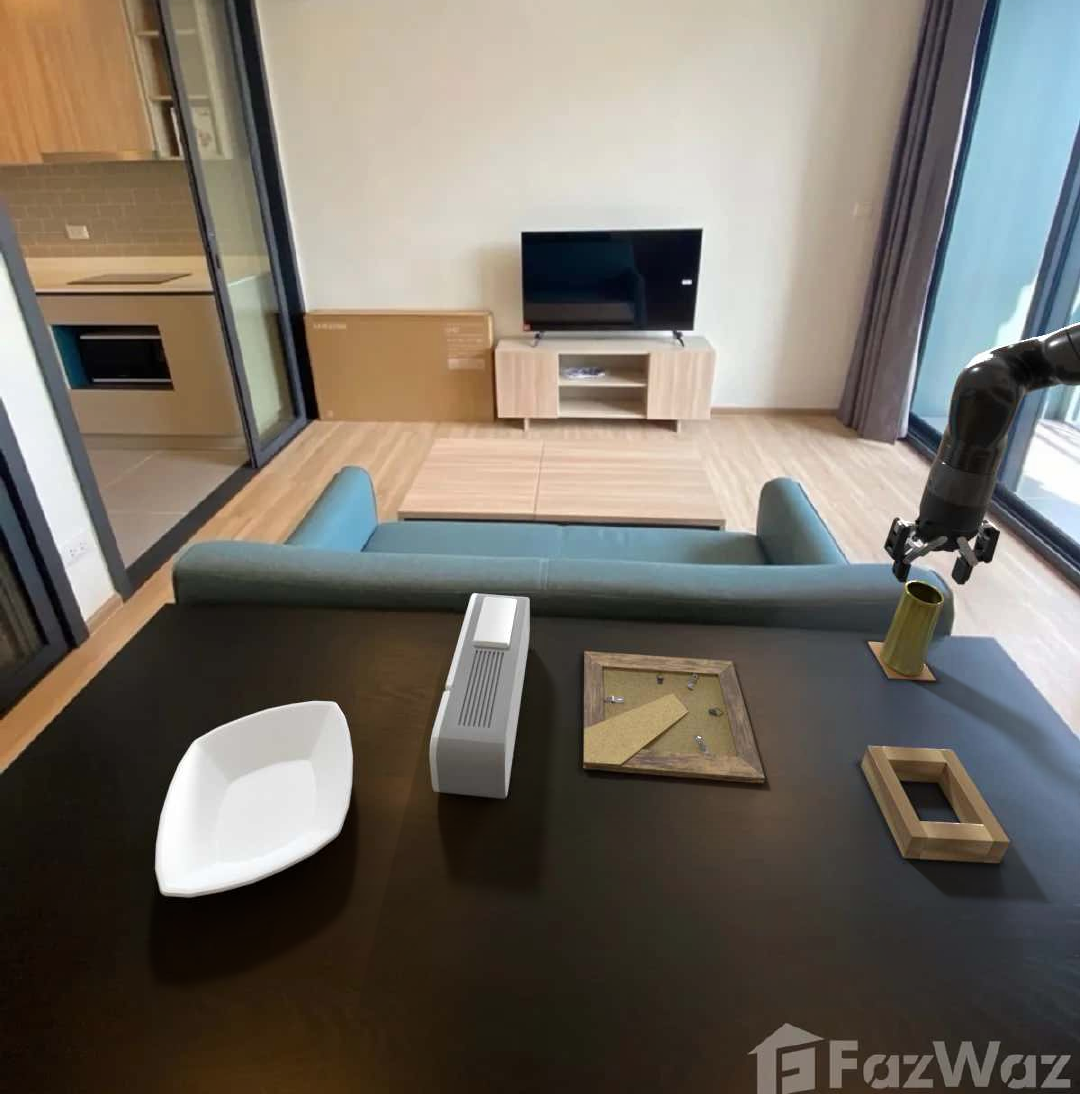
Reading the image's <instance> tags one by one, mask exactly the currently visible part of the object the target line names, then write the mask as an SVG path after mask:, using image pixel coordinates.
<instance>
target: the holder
mask: <svg viewBox="0 0 1080 1094" xmlns="http://www.w3.org/2000/svg"><path fill="white" fill-rule="evenodd" d="M861 761H862V762H861V763H860V767H861V769H862V772H863V774H864V776H865V778H866V780H867V782H868V784H869V786H870V789H871V791H872V793H873V795H874V798H875V800H876V802H877V804H878V806H879V808H880V810H881V812H882V815H883V817H884V819H885V822H886V823H887V825H888V828H889V829H890V832H891V834H892V836H893V838H894V840H895V842H896V844H897V847H898V849H899V851H900V854H901V856H902V857H903V858H904V859H918V860H937V861H953V862H970V863H971V862H972V863H989V864H1000V862H1001V861H1002V859H1003V857H1004V855H1005V853H1006V851H1007V849H1008V848H1009V846H1010V844H1011V840H1010V839H1009V838H1008V836H1007V834H1006V833H1005V831H1004V830H1003V828H1002V826H1001V824H1000V823H999V822H998V820H997V819H996V817H995V815H994V814H993V812H992V810H991V808H990V807H989V806H988V804H987V803H986V801H985V799H984V798H983V796H982V795H981V793H980V791H979V790H978V788H977V787H976V784H975V783H974V782H973V780H972V779H971V777H970V776H969V774H968V773H967V771H966V768H964V766H963V764H962V763H961V761H960V760H959V758H958V756H957V755H956V753H955V752H954V750H953V749H942V748H940V749H939V748H938V749H937V748H925V747H924V748H921V747H900V746H885V745H883V746H879V745H867V747H866V750H865V752H864V755H863V758H862V760H861ZM900 781H902V782H918V783H937V784H938V786H939V787H940V789H941V790H942V793H943V794H944V796H945V798H946V799H947V801H948V803H949V805H950V806H951V808H952V810H953V811H954V813H955V815H956V816H957V818H958V820H959V822H960V823H959V822H943V821H941V822H940V821H923V820H920V819H919V818H918V816H917V814H916V812H915V809H914V807H913V805H912V804H911V802H910V800H909V798H908V796H907V794H906V792H905V790H904V788H903V786H902V785H901V782H900Z"/></svg>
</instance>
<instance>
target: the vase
mask: <svg viewBox="0 0 1080 1094" xmlns="http://www.w3.org/2000/svg"><path fill="white" fill-rule="evenodd" d="M944 602H945V597H944V595H943V593H942V592H941V590H940V589H938V588H937V587H936V586H933V585H932V584H930V583H928V582H925V581H921V580H909V581H907V582H906V583H904V586H903V589H902V593H901V595H900V598H899V602H898V605H897V607H896V610H895V613H894V615H893V619H892V621H891V624H890V627H889V628H888V631H887V633H886V636H885V638H884V641H883V643H884V644H883V646H882V647H881V650H880V653H881V657H882V659H883V661H884V662H885V663H886V664H887V665H888V666H889V667H890V668H892V669H893V670H895V671H897V672H899V673H901V674H904V675H910V676H914V675H919V674H920V673H921V672H922V671H923V668H924V663H925V662H926V658H927V654H928V652H929V648H930V645H931V642H932V638H933V635H934V632H935V628H936V625H937V623H938V619H939V617H940V616H939V615H940V613H941V611H942V608H943V606H944Z"/></svg>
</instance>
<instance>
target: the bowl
mask: <svg viewBox="0 0 1080 1094" xmlns="http://www.w3.org/2000/svg"><path fill="white" fill-rule="evenodd" d="M351 739H352V738H351V733H350V729H349V726H348V722H347V719H346V716H345V714H344V713H343V711H342V710H341V708H340V707H339V705H338V703H337V702H335V701H326V700H312V701H304V702H297V703H296V702H295V703H290V704H285V705H280V706H276V707H271V708H267V709H264V710H261V711H257V712H255V713H252V714H248V715H245V716H242V717H240V718H238V719H235V720H233V721H229V722H227V723H225V724H222V725H220V726H218V727H215V728H214V729H211V730H210V731H209V732H206V733H205V734H204V735H201V736H200V737H198V738H196V739H195V740H193V742H192V743H191V744H190V746H189V747H188V749H187V751H186V752H185V753H184V755H183V757H182V759H181V760H180V761H179V763H178V765H177V768H176V770H175V772H174V775H173V777H172V779H171V782H170V784H169V787H168V790H167V793H166V797H165V799H164V802H163V806H162V809H161V813H160V817H159V821H158V822H159V823H158V830H157V836H156V841H155V857H154V860H155V861H154V870H155V871H154V872H155V876H156V881H157V883H158V884H157V885H158V887H159V888H158V889H159V892H160V894H162V896H164V897H174V898H175V897H178V898H196V897H200V896H206V895H211V894H216V893H223V892H225V891H231V890H233V889H237V888H241V887H243V886H248V885H251V884H255V883H256V882H260V881H261V880H263V879H266V878H268V877H270V876H273V875H275V874H277V873H280V872H283V871H285V870H287V869H288V868H290V867H293V866H294V865H296V864H298V863H300V862H302V861H304V860H306V859H308V858H309V857H312V856H314V855H316V853H318V852H319V851H320V850H321V849H323V848H324V847H325V846H327V845H328V844H329V843H331V842H332V841H334V840H335V839H336V838H337V837H338V836H339V835H340V833H341V831H342V830H343V829H342V828H343V826H344V822H345V820H346V817H347V814H348V812H349V809H350V804H351V803H350V802H351V795H352V788H353V773H354V772H353V771H354V753H353V747H352V740H351Z"/></svg>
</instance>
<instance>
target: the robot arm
mask: <svg viewBox="0 0 1080 1094" xmlns="http://www.w3.org/2000/svg"><path fill="white" fill-rule="evenodd" d="M1059 385H1064V386H1066V387H1077V386H1079V387H1080V322H1078V323H1075V324H1072V325H1069V326H1067V327H1064V328H1061V329H1059V330H1057V331H1054V332H1052V333H1049V334H1046V335H1042V336H1038V337H1037V336H1036V337H1032V338H1029V339H1025V340H1020V341H1017V342H1013V343H1009V344H1005V345H1002V346H999V347H994V348H992V349H990V350H987V351H985V352H983V353H980V354H978V355H976V356H975V357H973V358H972V359H971V360H970V361H969V362H968V364H966V366H965V367H964V368H963V369H962V371H961V372H960V373H959V375H958V376H957V378H956V381H955V383H954V387H953V390H952V394H951V399H950V403H949V409H948V416H947V424H946V427H945V429H944V431H943V433H942V437H941V440H940V444H939V447H938V450H937V454H936V456H935V458H934V460H933V462H932V464H931V466H930V469H929V472H928V475H927V479H926V482H925V485H924V488H923V489H924V490H923V493H922V495H921V499H920V503H919V507H918V510H919V511H918V517H917V518H916V519H915V520H914V521H904V519H902V517H899V516H897V517H894V518H893V520H892V523H891V525H890V528H889V532H888V534H887V537H886V540H885V541H884V545H883V549H884V550H885V552H886V553H887V554H888V556H889V557H890V558H891V560H892V561H893V565H892V567H891V573H892V574H893V576H894V577H895V578H896V580H897V581H898V582H899V583H900V584H901V583H902V584H906V583H907V582H908V581H907V580H908V577H909V574H910V571H911V569H912V568H911V567H912V562H914V561H916V559H918V558H919V557H921V558H923V557H925V556H927V555H928V554H929V553H931V552H932V553H933V552H935V553H938V552H946V553H954V552H955V551H957V552H958V554H959V555H960V556H956V559H955V562H954V564H953V568H952V571H951V574H950V575H951V578H952V579H953V581H954V582H955V583H956V584H957V585H958V586H964V585H965V584H966V583H967V582H968V581H969V580H970V578H971V575H972V572H973V570H974V567H976V566H978V564H980V563H984V564H990V563H992V561H993V559H994V555H995V552H996V549H997V545H998V542H999V538H1000V536H1001V531H1000V530H999V529H998V528H997V527H996V526H995V525H994V524H993V523H992V522H990V521H989V520H988V519H984V518H985V515H986V513H987V510H988V507H989V504H990V502H991V498H992V497H993V493H994V491H995V487H996V484H997V477H998V472H999V469H1000V466H1001V464H1002V461H1003V457H1004V455H1005V451H1006V448H1007V444H1008V433H1009V431H1010V429H1011V426H1012V424H1013V421H1014V418H1015V416H1016V414H1017V411H1018V409H1019V407H1020V404H1021V402H1022V399H1023V397H1024V396H1025V395H1027V394H1030V393H1032V392H1035V391H1039V390H1044V389H1047V388H1048V389H1049V388H1052V387H1056V386H1059ZM975 537H976V538H975ZM974 538H975V542H974V546H973V548H972V547H971V546H970V544H969V542H970V541H972V540H973V539H974ZM918 541H920V542H921V544H922V545H921V546H920V545H919V544H918ZM907 552H908V553H907Z"/></svg>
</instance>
